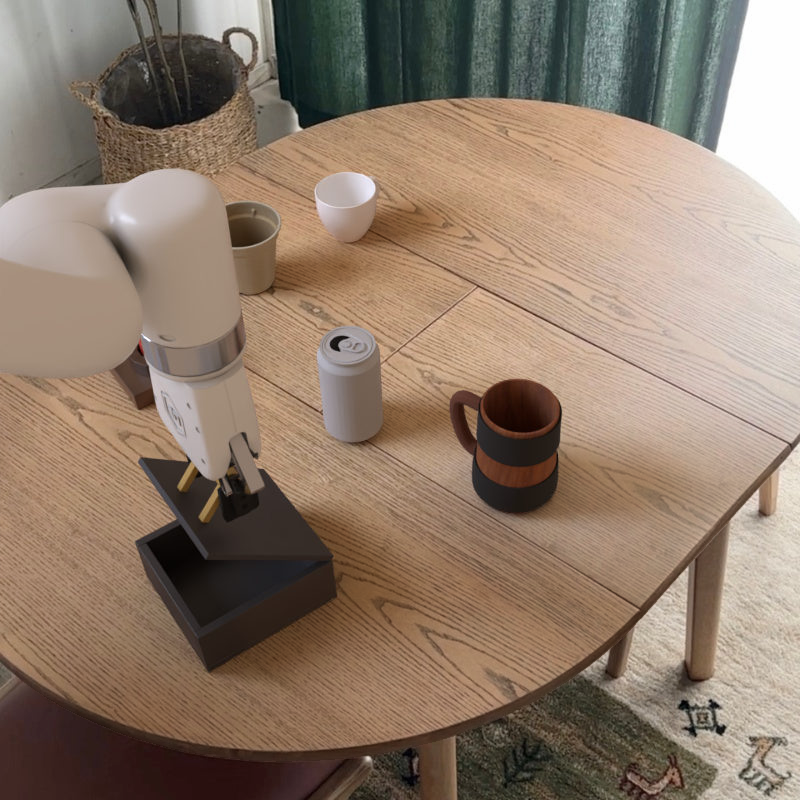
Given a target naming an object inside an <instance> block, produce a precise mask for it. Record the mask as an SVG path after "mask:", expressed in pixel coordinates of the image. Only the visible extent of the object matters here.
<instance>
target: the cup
mask: <svg viewBox="0 0 800 800" xmlns="http://www.w3.org/2000/svg"><path fill="white" fill-rule="evenodd" d="M380 190H381V186H380V181H379V178H377V177H376V176H373V175H369V176H367V175H365V174H363V173H359V172H353V171H342V172H336V173H332V174H329V175H327V176H325V177H324V178H322V179H321V180H319V181H318V183H317V184H316V185H315V188H314V201H315V206H316V207H315V208H316V212H317V214H318V218H319V220H320V222H321V224H322V226H323V227H324V229H325V230H326V232H328V233H329V234H330V235H331V236H332V238H334V239H336V240H337V241H339V242H341V243H355V242H357V241H359V240H361V239H362V238H363V237H364V236H365V235H366V233H368V231H369V230H370V227H371V226H372V225H373V222H374V219H375V216H376V212H377V206H378V205H377V203H378V201H377V200H378V199H379V195H380Z"/></svg>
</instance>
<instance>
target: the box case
mask: <svg viewBox="0 0 800 800" xmlns="http://www.w3.org/2000/svg"><path fill="white" fill-rule="evenodd" d="M134 544H135V547H136V549H137V552H138V555H139V558H140V561H141V564H142V566H143V569H144V572H145V575H146V578H147V580H148V581H149V582H150V584H151V585H152V587H153V588H154V591H155V592H156V593H157V595H158V597H159V598H160V600H161V601H162V602H163V604H164V606H165V607H166V609H167V610H168V612H169V613H170V615H171V616H172V619H174V621H175V623H176V625H177V626H178V628H179V629H180V631H181V633H182V634H183V635H184V637H185V639H186V640H187V642H188V643H189V644H190V646H191V648H192V649H193V651H194V652H195V654H196V656H197V657H198V659H199V660H200V662H201V664H202V665H203V667H204V668H205V670H206V671H207V673H211V672H213V671H215V670H216V669H217V668H219V667H221V666H223V665H224V664H226V663H228V662H229V661H231V660H233V659H234V658H236V657H238V656H240V655H241V654H243V653H245V652H246V651H248V650H250V649H251V648H253V647H255V646H256V645H258V644H260V643H261V642H263V641H265V640H266V639H269V638H270V637H272V636H273V635H275V634H276V633H279V632H280V631H282V630H283V629H285V628H287V627H288V626H290V625H292V624H294V623H296V622H297V621H298V620H300V619H302V618H304V617H305V616H307V615H309V614H310V613H312V612H314V611H315V610H317V609H319V608H320V607H323V606H324V605H325V604H327V603H329V602H330V601H331V602H332V600H334V599H335V598H337V597H338V593H337V584H336V575H335V568H334V567H335V566H334V561H333V559H332V560H331V561H297V560H206V559H205V558H204V557H203V555H202V554H201V552H200V551H199V550H198V548H197V547H196V545H195V544H194V542H193V541H192V540H191V538H190V537H189V535H188V534H187V532H186V531H185V529H184V528H183V527H182V525H181V524H180V522H179V521H178V519H177V518H176V519H174V520H173V521H170V522H168V523H167V524H164V525H163V526H161V527H159V528H157V529H155V530H153V531H151V532H149V533H148V534H146V535H144V536H142V537H140V538H138V539H136V540H134Z"/></svg>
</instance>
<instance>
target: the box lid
mask: <svg viewBox="0 0 800 800" xmlns="http://www.w3.org/2000/svg"><path fill="white" fill-rule="evenodd" d="M137 463H138V465H139V466H140V468H141V469H142V471H143V472H144V473H145V475H146V476H147V478H148V479H149V481H150V482H151V484H152V485H153V486H154V488H155V489H156V490H157V492H158V494H159V495H160V496H161V498H162V499H163V501H164V502H165V504H166V505H167V507H168V508H169V509H170V511H171V512H172V514H173V515H174V517H175V518H176V519H178V521H179V522H180V524H181V525H182V527H183V528H184V529H185V531H186V532H187V534H188V535H189V537H190V538H191V540H192V541H193V542H194V544H195V545H196V547H197V548H198V550H199V551H200V552H201V554H202V555H203V557H204V558H205V559H206V560H297V561H331V560H332V561H333V558H334V556H335V555H334V554H333V553H332V552H331V550H330V549H329V548H328V547H327V545H326V544H325V543H324V541H322V539H321V538H320V537H319V536H318V534H317V533H316V532H315V530H314V529H313V528H312V527H311V525H310V524H309V522H307V521H306V519H305V518H304V517H303V515H302V514H301V513H300V512H299V511H298V509H297V508H296V506H294V504H293V503H292V502H291V500H290V499H289V498H288V497H287V496H286V494H285V493H284V492H283V491H282V489H281V488H280V486H279V485H278V484H277V483H276V482H275V481H274V479H273V478H272V477H271V475H270V474H269V473H268V472H267V471H266V470H265V468H260V467H259V468H258V467H257V469H258V471H259V473H260V475H261V478H262V480H263V482H264V485H265V488H264V489H262V490H260V491H258V498H259V506H258V507H257V508H255V509H254V510H252V511H251V512H250V513H248V514H246V515H244V516H241V517H238V518H236V519H234V520H232V521H230V522H226V521H225V519H224V518H223V516H222V511H221V506H220V501H219V497H218V492H217V489H218V488H219V487H220V483H219V480H216V481H212V480H209V479H207V478H206V477H204V476H201V477H199V478H195V476H196V475H197V473H198V471H199V470H198V469H197V468H196V466H195V465H194V464H193V462H192V461H191V463H190V465H188V461H187V460H174V459H164V458H156V457H155V458H154V457H143V456H140V457H139V459H138V460H137ZM237 474H239V473H238V470H237V468H236V466H233V467H231V468H229V469H228V470H227V475H228V478H231V477H233V476H235V475H237Z"/></svg>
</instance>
